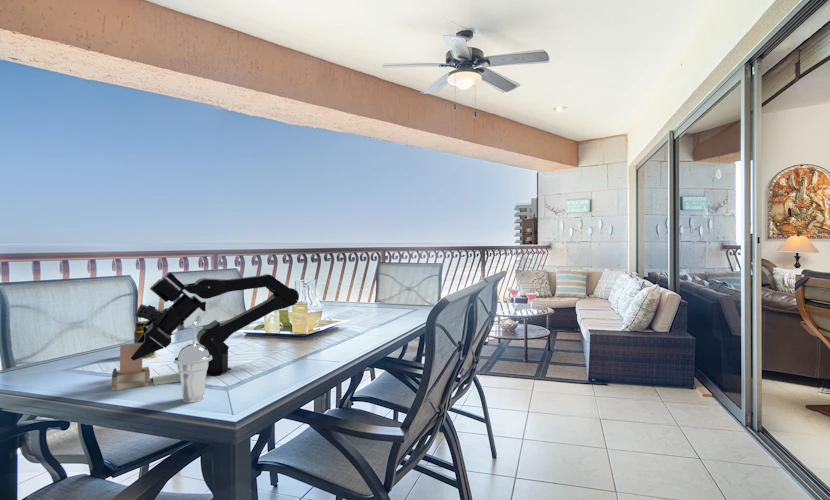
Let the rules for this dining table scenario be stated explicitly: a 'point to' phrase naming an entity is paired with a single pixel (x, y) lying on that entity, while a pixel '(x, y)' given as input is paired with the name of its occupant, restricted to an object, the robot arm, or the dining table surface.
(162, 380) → the pad
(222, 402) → the dining table surface
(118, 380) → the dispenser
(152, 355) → the condiment
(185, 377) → the cup with straw
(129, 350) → the pinkish tan rectangular block
